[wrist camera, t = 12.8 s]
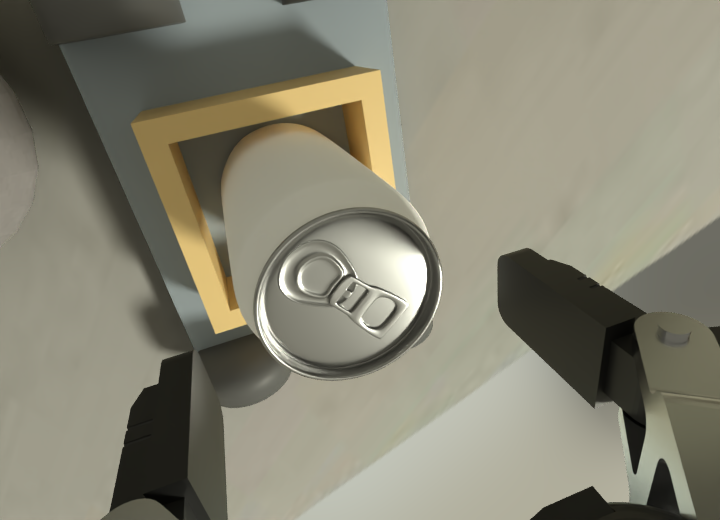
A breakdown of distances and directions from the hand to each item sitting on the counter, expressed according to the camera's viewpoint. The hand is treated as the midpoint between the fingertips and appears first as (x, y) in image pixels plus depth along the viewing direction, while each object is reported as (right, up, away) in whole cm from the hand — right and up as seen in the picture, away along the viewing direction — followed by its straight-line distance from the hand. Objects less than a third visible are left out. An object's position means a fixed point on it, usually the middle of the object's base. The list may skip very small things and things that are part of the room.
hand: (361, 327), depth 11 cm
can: (-4, +6, +12) cm, 14 cm away
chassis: (-5, +6, +13) cm, 15 cm away
